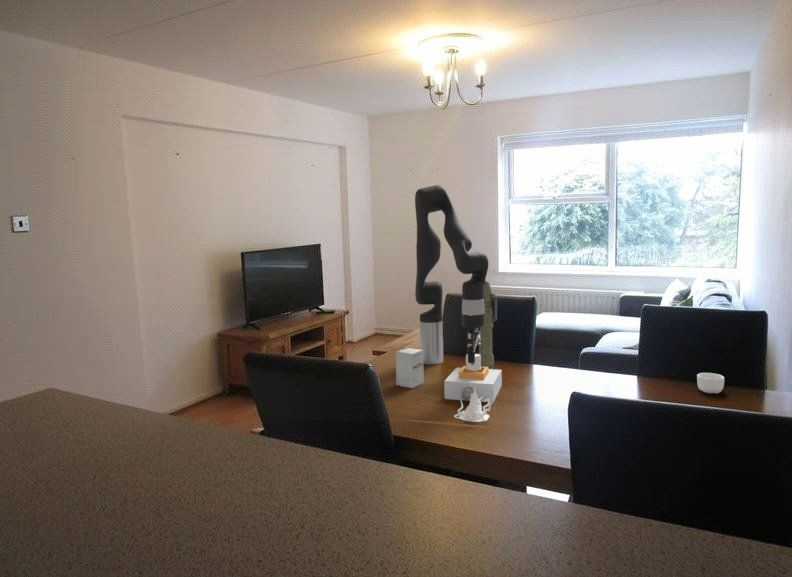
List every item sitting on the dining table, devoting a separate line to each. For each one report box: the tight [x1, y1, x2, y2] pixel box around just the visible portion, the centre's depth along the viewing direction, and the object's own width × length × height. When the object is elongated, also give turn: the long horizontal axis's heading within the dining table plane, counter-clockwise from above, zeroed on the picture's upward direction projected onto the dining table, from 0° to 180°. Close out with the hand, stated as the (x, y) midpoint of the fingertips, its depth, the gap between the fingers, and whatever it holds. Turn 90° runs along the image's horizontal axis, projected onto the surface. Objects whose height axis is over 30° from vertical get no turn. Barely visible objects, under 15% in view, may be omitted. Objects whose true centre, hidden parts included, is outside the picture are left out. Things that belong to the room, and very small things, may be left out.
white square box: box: [443, 365, 503, 404], centre depth 185 cm, size 22×16×8 cm
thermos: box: [480, 280, 498, 369], centre depth 211 cm, size 9×12×35 cm
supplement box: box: [395, 347, 425, 389], centre depth 198 cm, size 7×7×13 cm
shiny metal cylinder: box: [465, 353, 481, 372], centre depth 186 cm, size 5×5×10 cm
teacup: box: [696, 372, 725, 394], centre depth 180 cm, size 10×8×5 cm
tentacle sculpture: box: [453, 388, 494, 423], centre depth 163 cm, size 9×12×9 cm
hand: (473, 359), depth 186 cm, fingers open, 8 cm apart
